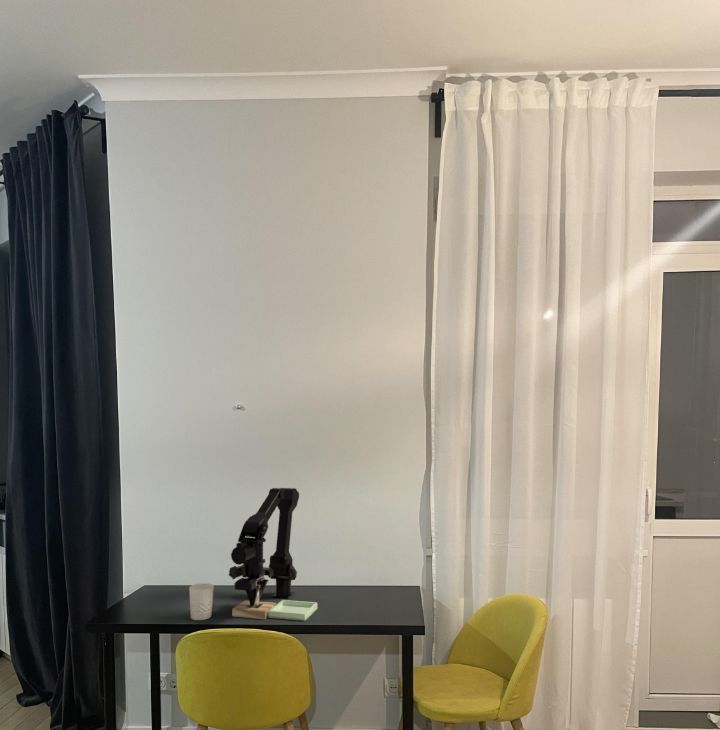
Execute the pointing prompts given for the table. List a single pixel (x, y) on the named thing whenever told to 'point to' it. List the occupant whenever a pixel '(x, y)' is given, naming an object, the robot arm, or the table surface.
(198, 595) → the white cup
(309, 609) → the tray
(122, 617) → the table surface
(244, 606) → the block
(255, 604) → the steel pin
